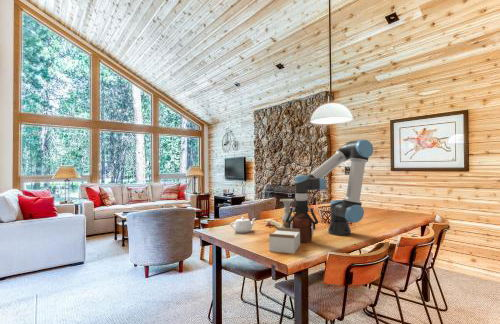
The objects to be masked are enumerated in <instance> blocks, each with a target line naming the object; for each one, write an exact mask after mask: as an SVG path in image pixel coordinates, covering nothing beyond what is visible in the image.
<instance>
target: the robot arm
mask: <svg viewBox="0 0 500 324" xmlns="http://www.w3.org/2000/svg"><path fill="white" fill-rule="evenodd" d="M373 153H374V145H373V144H372V143H371V142H370V140H368V139H357V140H350V141H348V142H346V143H345V144H343V145H342V146H341V147H340V148H338V149H337V150H336V151H335V154H333V155H332V156H331V157H329V158H328V159H327V160H325V161H324V162H323V163H321V165H319V166H318V167H316V168H315V169H314V170H313V171H311V173H309V174H307V175H304V174H301V175H299V174H298V175H296V176H295V178H294V188H295V191H294V194H295V196H294V197H295V199H294V203H295V207H293V206H292V207H291V206H290V213H289V215H288V217H287V219H286V222H288V223H289V228H292V227H293V226H292V224H293V218H295V217H296V215H297V214H300V213H303V214H305V215H306V216H307V217H308V219H309V220H310V221H311V222H312V227H311V228H312V237H313V236H314V235H315V234H314V231H315V230H316V225H318V224H319V221H318V218H317V217H316V214H315V212H314V208H313V207H311V208H309V205H308V204H309V203H308V200H309V198H308V196H309V195H308V194H309V193H308V191H321V190H325V189H326V186H327V182H326V180H325V178H324V177H326V176H327V175H328V174H329V173H331V172H332V171H333V170H335V169H336V168H337V167H338V166H339V165H340V164H342V163H345V162H346V161H348V160H350V167H349V168H350V169H349V175H348V182H347V188H346V194H345V197H344V198H343V199H336V200H335V199H334V200H331V201H330V203H329V206H330V210H329V211H330V223H329V226H328V230H327V232H328V234H330V235H334V236H350V235H351V234H352V230H351V226H350V224H349V223H358V222H360V221H362V219H363V218H364V215H365V209H364V208H363V207H362V205H363V204H362V200H361V199H360V198H361V195H362V194H361V193H362V185H363V182H364V181H363V180H364V174H365V167H366V163H367V162H369V158H370V157H371V156H372V155H373ZM308 211H309V213H311V215H310V214H309V213H308ZM293 212H295V214H294V215H293V216H292V213H293ZM290 216H292V218H291V220H290V221H289V218H290ZM311 216H312V217H311Z"/></svg>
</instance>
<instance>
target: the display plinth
mask: <svg viewBox="0 0 500 324" xmlns="http://www.w3.org/2000/svg"><path fill="white" fill-rule="evenodd" d="M268 234H269V237H268V243H269V244H268V246H269V247H268V251H269V252H273V253H274V252H275V253H285V254H295V253H296V252H297V250H298V249H299V247H300V246H301V243H300V229H293V228H278V227H277V226H276V230H275V231H274V232H272V233H268Z"/></svg>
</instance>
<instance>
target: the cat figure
mask: <svg viewBox="0 0 500 324" xmlns="http://www.w3.org/2000/svg"><path fill="white" fill-rule="evenodd" d="M263 221H264V223H263V225H265V226H267V227H269V228H271V226H275V227H276V228H277V227H278V228H282V227H283V226H284V225H283V223H284V221H283V220H282V223H281V222H279V221H278V220H277V219H275V220H273V219H271V218H268V219H267V218H266V219H265V220H263Z"/></svg>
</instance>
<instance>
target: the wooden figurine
mask: <svg viewBox="0 0 500 324" xmlns="http://www.w3.org/2000/svg"><path fill="white" fill-rule="evenodd" d="M292 228H293V229H300V244H302V243H311V242H312V239H313V236H312V222H311V221H310V220H309V219H308V217H307V216H306V215H305V214H303V213H300V214H297V215H296V217H295V218H293V220H292Z"/></svg>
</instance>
